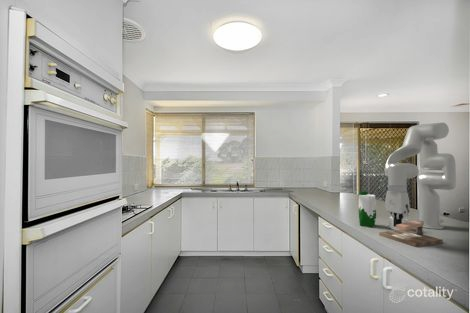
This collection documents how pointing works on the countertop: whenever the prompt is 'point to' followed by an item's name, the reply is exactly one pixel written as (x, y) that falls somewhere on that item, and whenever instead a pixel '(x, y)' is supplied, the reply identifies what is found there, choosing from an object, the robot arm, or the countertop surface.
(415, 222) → the swing arm
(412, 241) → the label board
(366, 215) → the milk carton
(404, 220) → the base with upright slab
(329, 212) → the countertop surface
